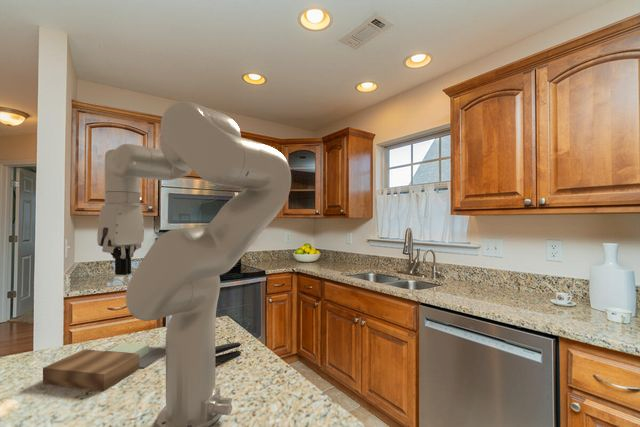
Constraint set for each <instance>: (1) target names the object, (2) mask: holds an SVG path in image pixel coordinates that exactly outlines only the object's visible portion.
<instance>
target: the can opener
mask: <svg viewBox="0 0 640 427" xmlns="http://www.w3.org/2000/svg"><path fill="white" fill-rule="evenodd" d="M241 345H242V343H241V342H239V341H237V342H231V343H226V344H220V345H215V364H216V363H220V362H224V361H229V360H231V359H234V358H236V357H239V356H240V355H241V354H242V352H241V351H240V350H234V351H230V350H233V349H236V348H239V347H241ZM226 351H229V352H226ZM224 352H225V353H224ZM221 353H222V354H221ZM218 354H219V355H218Z"/></svg>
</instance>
